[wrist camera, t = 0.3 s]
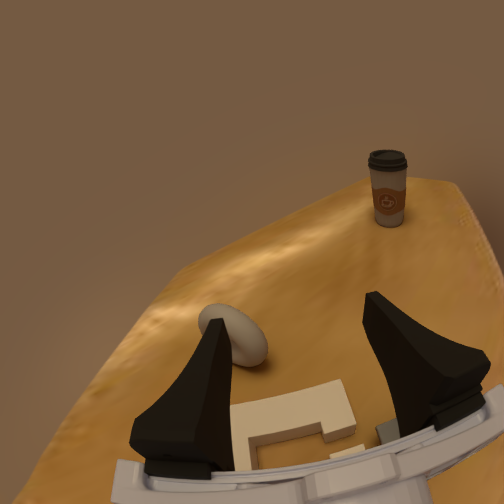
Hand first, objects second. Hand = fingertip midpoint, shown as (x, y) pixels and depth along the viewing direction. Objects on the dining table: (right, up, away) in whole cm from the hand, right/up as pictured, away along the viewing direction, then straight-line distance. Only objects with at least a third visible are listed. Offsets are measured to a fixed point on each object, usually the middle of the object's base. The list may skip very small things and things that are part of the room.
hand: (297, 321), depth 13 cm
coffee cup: (+28, +10, +43) cm, 52 cm away
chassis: (+2, -18, +10) cm, 21 cm away
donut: (-4, -11, +23) cm, 26 cm away
